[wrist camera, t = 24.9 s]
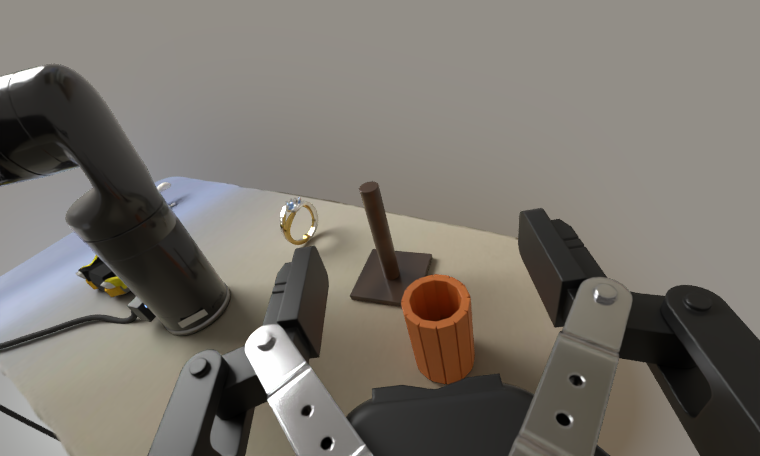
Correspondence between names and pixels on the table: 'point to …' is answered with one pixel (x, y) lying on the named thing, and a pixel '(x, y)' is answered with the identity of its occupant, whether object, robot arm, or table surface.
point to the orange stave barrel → (440, 327)
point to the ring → (285, 225)
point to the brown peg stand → (385, 258)
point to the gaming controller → (102, 278)
